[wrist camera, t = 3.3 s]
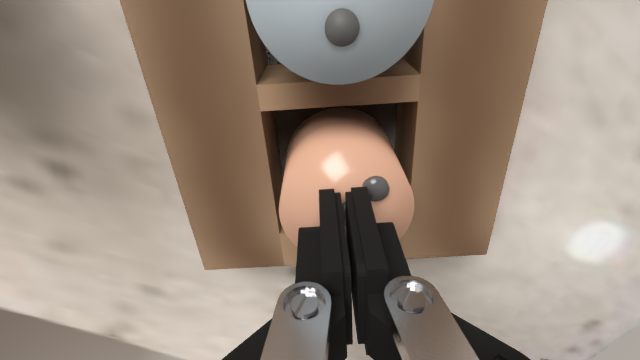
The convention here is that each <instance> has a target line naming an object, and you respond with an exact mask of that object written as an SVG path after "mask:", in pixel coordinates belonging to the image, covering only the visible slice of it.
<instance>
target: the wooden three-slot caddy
mask: <svg viewBox="0 0 640 360" xmlns="http://www.w3.org/2000/svg"><path fill="white" fill-rule="evenodd" d="M547 1H548V0H434V2H433V6H432V10H431V12H430V15H429V17H428V20H427V22H426V24H425V26H424V28H423V30H422V32H421V34H420V35H419V37H418V38H417V40H416V41H415V43H414V44H413V46H412V47H411V48H410V49H409V50H408V51H407V53H406V54H405V55H404V56H403V57H402V58H401V59H400V60H399V61H397V62H396V63H395V64H394V65H392V66H391V67H390V68H388V69H387V70H386V71H384V72H382V73H380V74H378V75H377V76H374V77H372V78H370V79H367V80H364V81H361V82H357V83H352V84H344V85H331V84H324V83H319V82H315V81H311V80H309V79H306V78H304V77H302V76H299V75H298V74H296V73H294V72H292V71H291V70H289V69H288V68H287V67H285V66H284V65H283V64H270V65H268V63H267V56H266V49H265V45H264V43H263V42H262V40H261V38H260V37H259V35H258V33H257V31H256V29H255V27H254V25H253V23H252V20H251V17H250V14H249V11H248V8H247V3H246V0H120V3H121V6H122V9H123V12H124V15H125V19H126V22H127V25H128V28H129V31H130V34H131V38H132V41H133V44H134V47H135V50H136V53H137V57H138V60H139V63H140V66H141V69H142V72H143V76H144V79H145V82H146V85H147V88H148V91H149V95H150V98H151V101H152V104H153V107H154V110H155V114H156V117H157V120H158V123H159V126H160V129H161V133H162V136H163V139H164V142H165V145H166V148H167V152H168V155H169V158H170V161H171V164H172V167H173V171H174V174H175V177H176V180H177V183H178V186H179V190H180V193H181V196H182V199H183V202H184V205H185V209H186V212H187V215H188V218H189V221H190V224H191V228H192V231H193V234H194V237H195V240H196V243H197V247H198V250H199V253H200V256H201V259H202V262H203V266H204V269H205V270H213V269H231V268H249V267H267V266H285V265H296V262H297V247H296V246H295V245H294V244H293V243H292V242H291V241H290V239H289V238H288V237H287V235H286V234H285V232H284V230H283V228H282V225H281V222H280V218H279V202H280V196H281V189H282V183H283V175H282V168H281V160H280V153H279V145H278V138H277V130H276V123H275V116H274V111H275V110H291V109H306V108H322V107H337V106H353V105H368V104H384V103H397V120H396V139H395V154H396V156H397V158H398V160H399V162H400V164H401V167H402V169H403V171H404V173H405V175H406V178H407V180H408V182H409V184H410V186H411V189H412V192H413V196H414V213H413V218H412V221H411V223H410V225H409V227H408V229H407V231H406V232H405V234H404V235H403V237H402V238H401V239H400V240H399V241H400V244H401V247H402V250H403V253H404V256H405V259H412V258H430V257H448V256H466V255H484V254H486V253H487V249H488V245H489V241H490V237H491V233H492V229H493V224H494V220H495V216H496V212H497V208H498V204H499V200H500V196H501V191H502V187H503V183H504V179H505V175H506V171H507V167H508V162H509V158H510V154H511V150H512V146H513V142H514V138H515V133H516V129H517V125H518V121H519V117H520V113H521V109H522V104H523V100H524V96H525V92H526V88H527V84H528V80H529V76H530V71H531V67H532V63H533V59H534V55H535V51H536V47H537V42H538V38H539V34H540V30H541V26H542V22H543V18H544V13H545V9H546V5H547Z"/></svg>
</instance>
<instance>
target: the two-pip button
mask: <svg viewBox="0 0 640 360" xmlns="http://www.w3.org/2000/svg"><path fill="white" fill-rule="evenodd" d="M433 2H434V0H246V3H247V8H248V11H249V14H250V17H251V20H252V23H253V25H254V27H255V29H256V31H257V33H258V35H259V37H260V38H261V40H262V42H263V43H264V45H265V46H266V47H267V49H268V50H269V51H270V52H271V54H272V55H273V56H274V57H275V58H276V59H277V60H278V61H279V62H280V63H281V64H283V65H284V66H285V67H287V68H288V69H289V70H291V71H292V72H294V73H296V74H298V75H299V76H302V77H304V78H306V79H309V80H311V81H315V82H319V83H324V84H331V85H344V84H352V83H357V82H361V81H364V80H367V79H370V78H372V77H374V76H377V75H378V74H380V73H382V72H384V71H386V70H387V69H388V68H390V67H391V66H392V65H394V64H395V63H396V62H397V61H399V60H400V59H401V58H402V57H403V56H404V55H405V54H406V53H407V51H408V50H409V49H410V48H411V47H412V46H413V44H414V43H415V41H416V40H417V38H418V37H419V35H420V34H421V32H422V30H423V28H424V26H425V24H426V22H427V20H428V17H429V15H430V12H431V10H432V6H433Z"/></svg>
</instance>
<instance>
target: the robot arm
mask: <svg viewBox="0 0 640 360" xmlns="http://www.w3.org/2000/svg"><path fill="white" fill-rule="evenodd" d="M345 205H346V230H345V223H344V215H343V207H342V200H341V193H340V192H337V193H335V192H334V189H319V216H320V226H317V227H301V228H299V230H298V245H297V262H296V279H295V284H293V285H291V286H289V287H288V288H286V289H285V290H284V291H283V292H282V293H281V295H280V297H279V299H278V301H277V304H276V308H275V311H274V315H273V318H272V319H271V320H270V321H268V322H267V323H266V324H265V325H263V326H262V327H261V328H260V329H259V330H257V331H256V332H255V333H254V334H252V335H251V336H250V337H249V338H248V339H246V340H245V341H244V342H243V343H241V344H240V345H239V346H238V347H237V348H235V349H234V350H233V351H232V352H230V353H229V354H228V355H227V356H226V357H224V358H223V359H222V360H345V359H346V358H347V345H348V344H353V339H352V300H353V308H354V316H355V324H356V332H357V340H358V344H365V349H366V355H369V356H370V357H371V358H373V359H374V360H530V359H529V358H528V357H526V356H525V355H523V354H522V353H521V352H519V351H517V350H515V349H514V348H512V347H510V346H508V345H507V344H505V343H503V342H501V341H500V340H498V339H496V338H494V337H493V336H491V335H489V334H487V333H486V332H484V331H482V330H480V329H479V328H477V327H475V326H473V325H472V324H470V323H468V322H467V321H465V320H463V319H461V318H460V317H458V316H456V315H454V314H453V313H451V312H450V311H449V309H448V307H447V306H446V304H445V302H444V301H443V299H442V297H441V296H440V294H439V293H438V291H437V290H436V289H435V287H434V286H433V285H432V284H430V283H429V282H428V281H426V280H424V279H421V278H419V277H414V276H411V274H410V271H409V268H408V265H407V262H406V259H405V256H404V253H403V250H402V247H401V244H400V241H399V238H398V235H397V232H396V229H395V226H394V224H393V222H383V223H376V219H375V215H374V212H373V208H372V204H371V200H370V196H369V193H368V189H367V187H351V192H345ZM351 292H352V298H351ZM540 360H548V359H540Z"/></svg>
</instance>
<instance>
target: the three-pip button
mask: <svg viewBox="0 0 640 360" xmlns="http://www.w3.org/2000/svg"><path fill="white" fill-rule="evenodd" d="M351 187H367V189H368V193H369V196H370V200H371V204H372V208H373V212H374V215H375V219H376V223H383V222H393V224H394V226H395V229H396V232H397V235H398V238H399V240H400V239H401V238H402V237H403V235H404V234H405V232H406V231H407V229H408V227H409V225H410V223H411V221H412V218H413V213H414V196H413V192H412V189H411V186H410V184H409V182H408V180H407V178H406V175H405V173H404V171H403V169H402V167H401V164H400V162H399V160H398V158H397V156H396V154H395V151H394V149H393V147H392V145H391V143H390V141H389V138H388V136H387V134H386V132H385V130H384V129H383V128H382V126H381V125H380V124H379V123H378V122H377V121H376V120H375V119H374V118H372V117H371V116H369V115H368V114H366V113H364V112H362V111H359V110H356V109H352V108H330V109H326V110H322V111H320V112H317V113H315V114H313V115H312V116H310V117H308V118H307V119H306V120H304V121H303V122H302V123H301V124H300V125H299V126H298V128H297V129H296V130H295V132H294V134H293V135H292V137H291V140H290V142H289V146H288V151H287V158H286V164H285V170H284V177H283V183H282V189H281V196H280V202H279V218H280V222H281V225H282V228H283V230H284V232H285V234H286V235H287V237H288V238H289V239H290V241H291V242H292V243H293V244H294V245H295V246H296V247H297V245H298V230H299V228H301V227H317V226H320V216H319V189H334V192H335V193H337V192H340V193H341V200H342V207H343V215H344V223H345V230H346V205H345V192H351Z"/></svg>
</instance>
